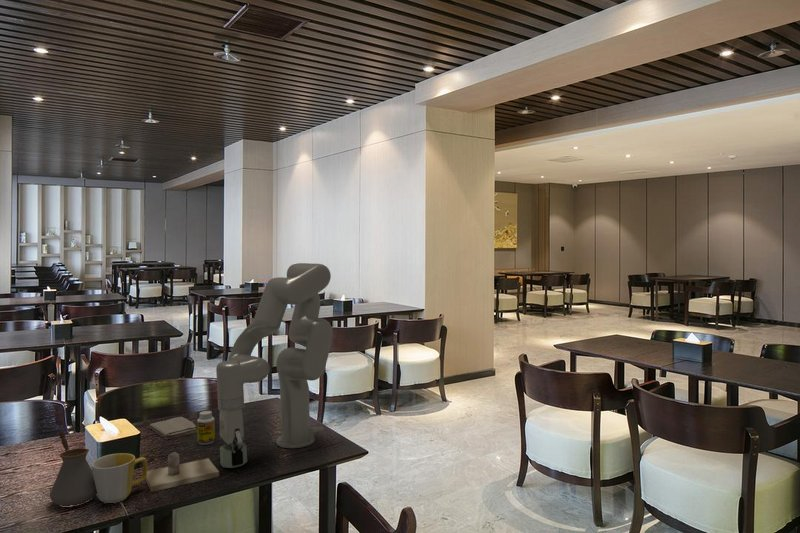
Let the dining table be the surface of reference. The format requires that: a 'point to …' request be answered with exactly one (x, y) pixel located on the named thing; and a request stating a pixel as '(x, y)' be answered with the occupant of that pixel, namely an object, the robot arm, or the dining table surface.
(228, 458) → the collar
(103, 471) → the mug
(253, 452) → the dining table surface
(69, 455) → the coffee pot
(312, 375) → the robot arm
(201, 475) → the post board
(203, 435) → the supplement bottle
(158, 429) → the washcloth
